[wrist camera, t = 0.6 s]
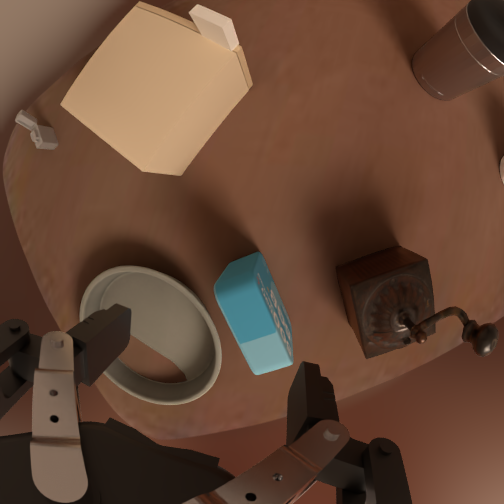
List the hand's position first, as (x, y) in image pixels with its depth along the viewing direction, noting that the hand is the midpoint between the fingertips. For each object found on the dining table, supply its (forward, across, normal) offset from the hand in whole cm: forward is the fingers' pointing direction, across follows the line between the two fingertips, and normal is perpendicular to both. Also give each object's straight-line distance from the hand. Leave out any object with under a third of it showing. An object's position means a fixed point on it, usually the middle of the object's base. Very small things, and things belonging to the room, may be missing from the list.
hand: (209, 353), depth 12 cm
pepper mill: (+29, -20, +1) cm, 35 cm away
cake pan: (+28, +13, +19) cm, 37 cm away
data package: (+28, -2, +8) cm, 29 cm away
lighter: (+28, +41, -9) cm, 50 cm away
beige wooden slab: (+28, +14, -23) cm, 39 cm away
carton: (+28, +17, -16) cm, 37 cm away
